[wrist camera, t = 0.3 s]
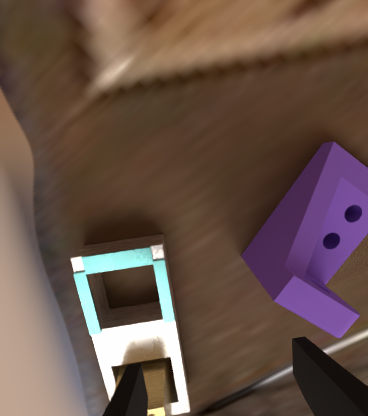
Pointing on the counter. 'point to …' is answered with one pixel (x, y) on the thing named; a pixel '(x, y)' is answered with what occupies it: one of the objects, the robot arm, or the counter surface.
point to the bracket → (314, 238)
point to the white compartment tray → (131, 313)
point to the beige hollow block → (155, 385)
